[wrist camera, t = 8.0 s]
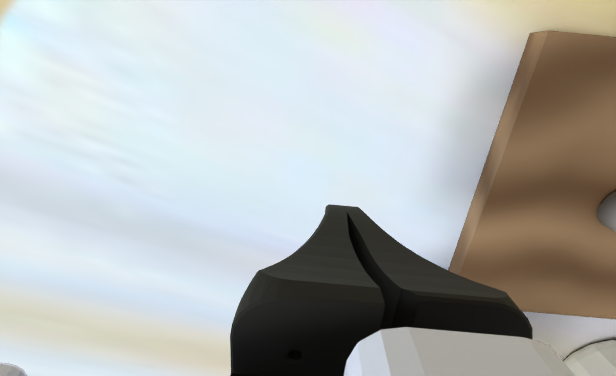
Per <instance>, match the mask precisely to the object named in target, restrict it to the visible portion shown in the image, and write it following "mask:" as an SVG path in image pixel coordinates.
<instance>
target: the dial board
mask: <svg viewBox="0 0 616 376" xmlns="http://www.w3.org/2000/svg"><path fill="white" fill-rule="evenodd" d="M615 191H616V37H609V36H599V35H589V34H578V33H568V32H558V31H542V32H536V33H530V35H529V38H528V41H527V44H526V47H525V50H524V52H523V55H522V58H521V61H520V64H519V67H518V70H517V73H516V76H515V79H514V81H513V84H512V87H511V90H510V93H509V96H508V99H507V102H506V105H505V108H504V110H503V113H502V116H501V119H500V122H499V125H498V128H497V131H496V134H495V136H494V139H493V142H492V145H491V148H490V151H489V154H488V157H487V160H486V163H485V165H484V168H483V171H482V174H481V177H480V180H479V183H478V186H477V189H476V192H475V194H474V197H473V200H472V203H471V206H470V209H469V212H468V215H467V218H466V221H465V223H464V226H463V229H462V232H461V235H460V238H459V241H458V244H457V247H456V249H455V252H454V255H453V258H452V261H451V264H450V267H449V270H448V271H450V272H452V273H455V274H457V275H460V276H462V277H464V278H467V279H469V280H472V281H475V282H478V283H481V284H484V285H487V286H489V287H492V288H495V289H498V290H501V291H504V292H506V293H507V294H508V295H509V297H510V298H511V299H512V300H513V301H514V303H515V304H516V305H517V306H518V307H519V309H520V310H521V311H527V312H538V313H550V314H561V315H573V316H584V317H595V318H607V319H616V232H615V231H613V230H611V229H609V228H607V227H606V226H604V225H602V224H601V223H600V222H599V221H598V219H597V210H598V207H599V205H600V204H601V203H602V201H603V200H604V199H605V198H606V197H607V196H609V195H610V194H612V193H613V192H615Z"/></svg>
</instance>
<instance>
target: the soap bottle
mask: <svg viewBox="0 0 616 376" xmlns="http://www.w3.org/2000/svg"><path fill="white" fill-rule="evenodd" d="M563 362H564V363H565V364H566V365H567V367H568V368H569V369H570V370H571V371H572V373H573V374H574V375H575V376H616V340H608V341H604V342H599V343H595V344H591V345H588V346H586V347H584V348H582V349H580V350H578V351H576V352H574V353H572V354H571V355H570V356H569V357H568V358H566V359H565V360H564V361H563Z"/></svg>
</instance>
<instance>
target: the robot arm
mask: <svg viewBox="0 0 616 376" xmlns="http://www.w3.org/2000/svg"><path fill="white" fill-rule="evenodd" d="M532 339H533V338H532V327H531V324H530V322H529V320H528V318H527V317H526V316H525V315H524V313H523V312H522V311H521V310H520V309H519V307H518V306H517V305H516V304H515V303H514V301H513V300H512V299H511V298H510V297H509V295H508V294H507V293H506V292H504V291H501V290H498V289H495V288H492V287H489V286H487V285H484V284H481V283H478V282H475V281H472V280H469V279H467V278H464V277H462V276H460V275H457V274H455V273H452V272H450V271H448V270H446V269H444V268H441V267H439V266H437V265H436V264H434V263H432V262H430V261H428V260H426V259H424V258H422V257H421V256H419V255H417V254H415V253H414V252H412V251H411V250H409V249H408V248H406V247H405V246H403V245H402V244H400V243H399V242H397V241H396V240H395V239H394V238H392V237H391V236H390V235H388V234H387V233H386V232H385V231H384V230H383V229H381V228H380V227H379V226H378V225H377V224H376V223H375V222H374V221H373V220H371V219H370V218H369V217H368V216H367V215H366V214H365V213H364V212H363V211H362V210H361V209H360V208H358V207H351V206H340V205H328V206H326V210H325V215H324V217H323V219H322V221H321V223H320V225H319V226H318V228H317V229H316V231H315V232H314V233H313V235H312V236H311V237H310V238H309V239H308V241H307V242H306V243H305V244H304V245H303V246H301V247H300V248H299V249H298V250H297V251H296V252H294V253H293V254H292V255H290V256H289V257H287V258H286V259H284V260H282V261H280V262H278V263H276V264H274V265H272V266H269V267H267V268H265V269H262V270H259V271H258V272H257V273H256V275H255V276H254V278H253V279H252V281H251V283H250V284H249V286H248V288H247V289H246V291H245V293H244V295H243V297H242V299H241V301H240V303H239V306H238V308H237V311H236V314H235V317H234V320H233V323H232V328H231V334H230V344H231V376H575V375H574V374H573V373H572V371H571V370H570V369H569V368H568V367H567V365H566V364H565V363H564V362H563V361H562V359H561V358H560V357H559V356H558V355H557V353H556V352H555V351H554V350H553V349H552V347H551V346H550V345H547V344H544V343H541V342H538V341H535V340H532ZM0 376H27V374H26V373H25V372H24V370H23V369H21V368H19V367H18V366H16V365H12V364H8V363H0Z"/></svg>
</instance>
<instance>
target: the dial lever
mask: <svg viewBox="0 0 616 376" xmlns="http://www.w3.org/2000/svg"><path fill="white" fill-rule="evenodd" d="M597 219H598V221H599V222H600V223H601V224H602V225H604V226H606V227H607V228H609V229H611V230H613V231H615V232H616V191H615V192H613V193H612V194H610V195H609V196H607V197H606V198H605V199H604V200H603V201H602V203H601V204H600V205H599V207H598V210H597Z"/></svg>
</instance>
